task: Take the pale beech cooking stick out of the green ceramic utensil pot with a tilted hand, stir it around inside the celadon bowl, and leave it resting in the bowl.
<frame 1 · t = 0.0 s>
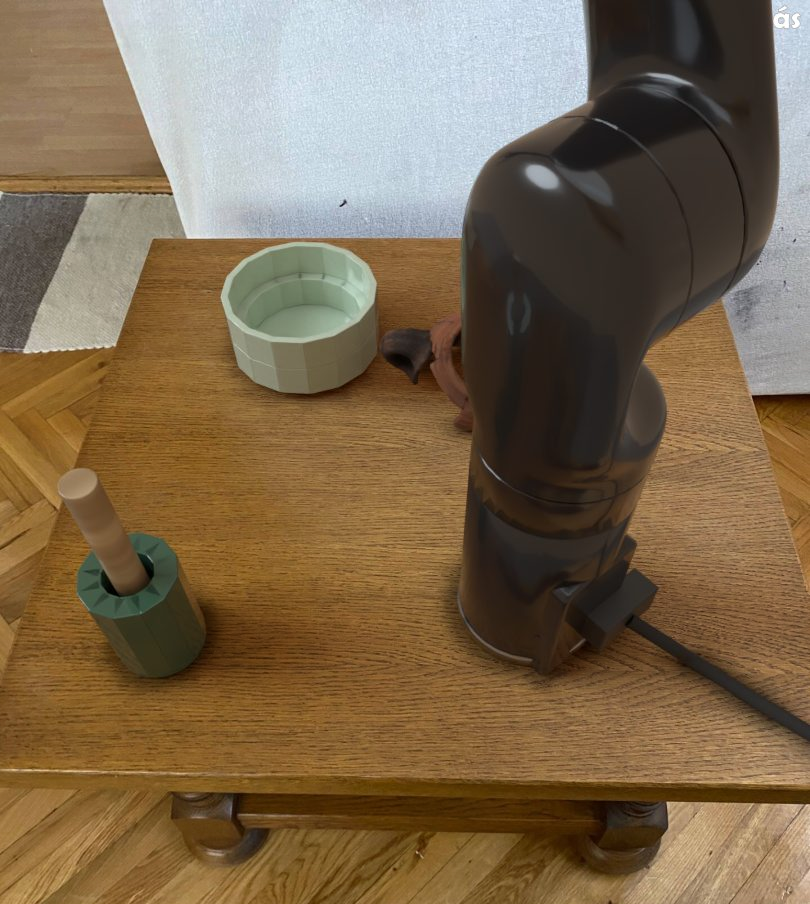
utensil pot: (162, 637, 54), on the table
cooking stick: (160, 634, 54), resting on utensil pot
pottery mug: (454, 391, 67), on the table
bowl: (307, 346, 70), on the table
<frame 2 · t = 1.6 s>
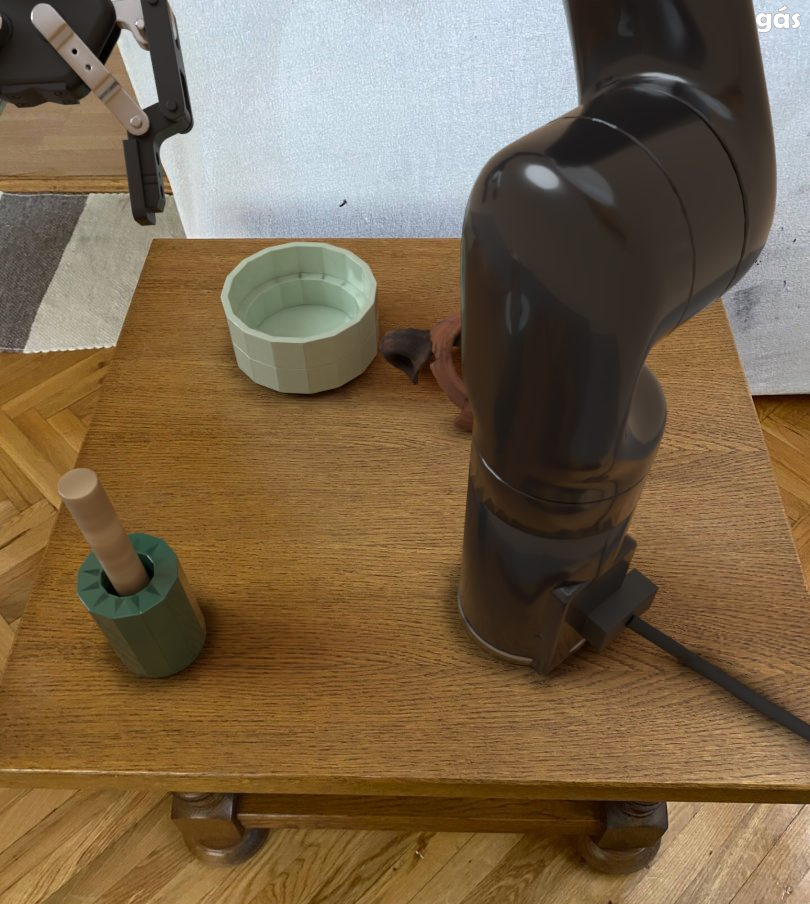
hand: (61, 228, 42), 23 cm above the table, tool tilted 45°, fingers open, 8 cm apart
nothing on the table moved.
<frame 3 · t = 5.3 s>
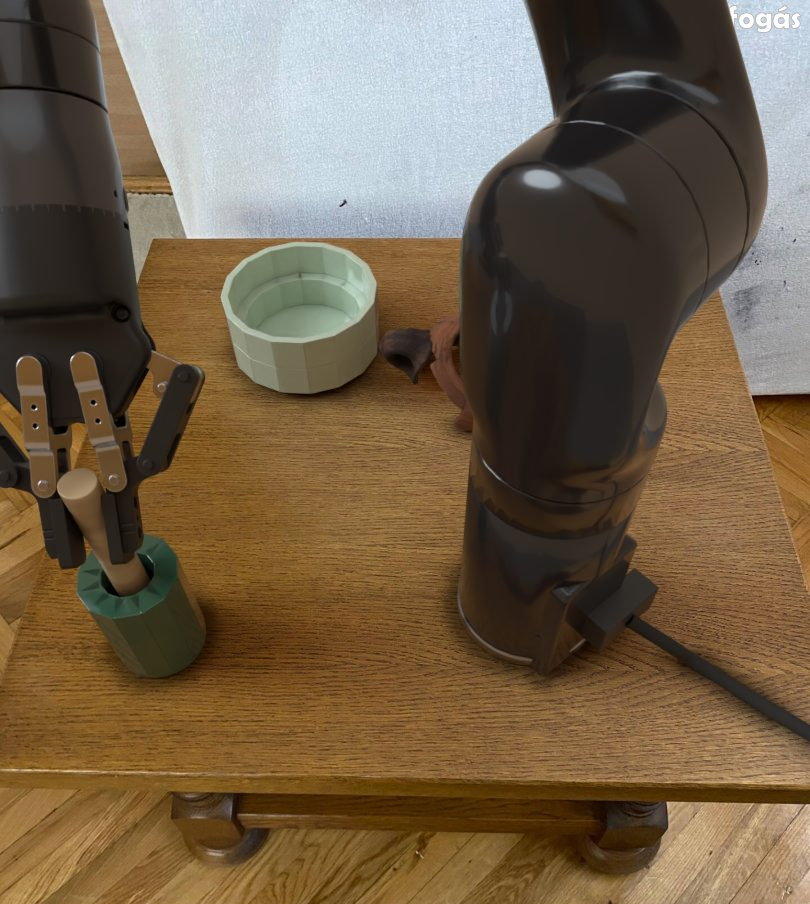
hand: (99, 562, 43), 12 cm above the table, tool tilted 45°, fingers closed on cooking stick, 2 cm apart
cooking stick: (160, 634, 54), point 1 cm above the table, touching gripper, utensil pot
everything else where it was.
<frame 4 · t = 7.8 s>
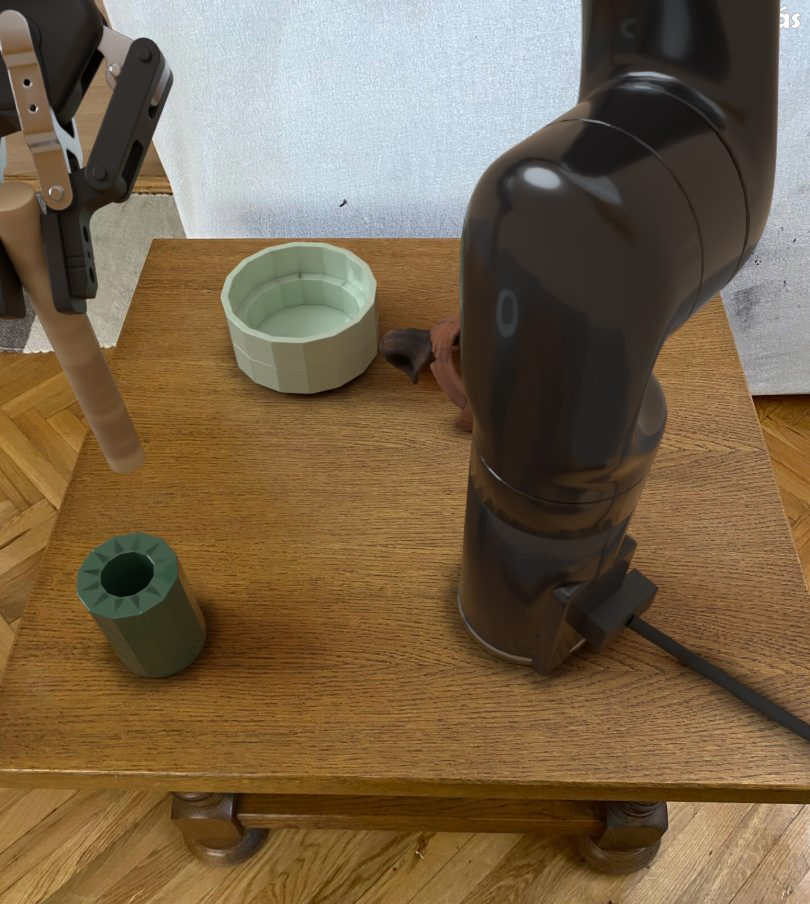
hand: (40, 313, 34), 26 cm above the table, tool tilted 45°, fingers closed on cooking stick
cooking stick: (127, 460, 45), point 14 cm above the table, touching gripper
everything else where it was.
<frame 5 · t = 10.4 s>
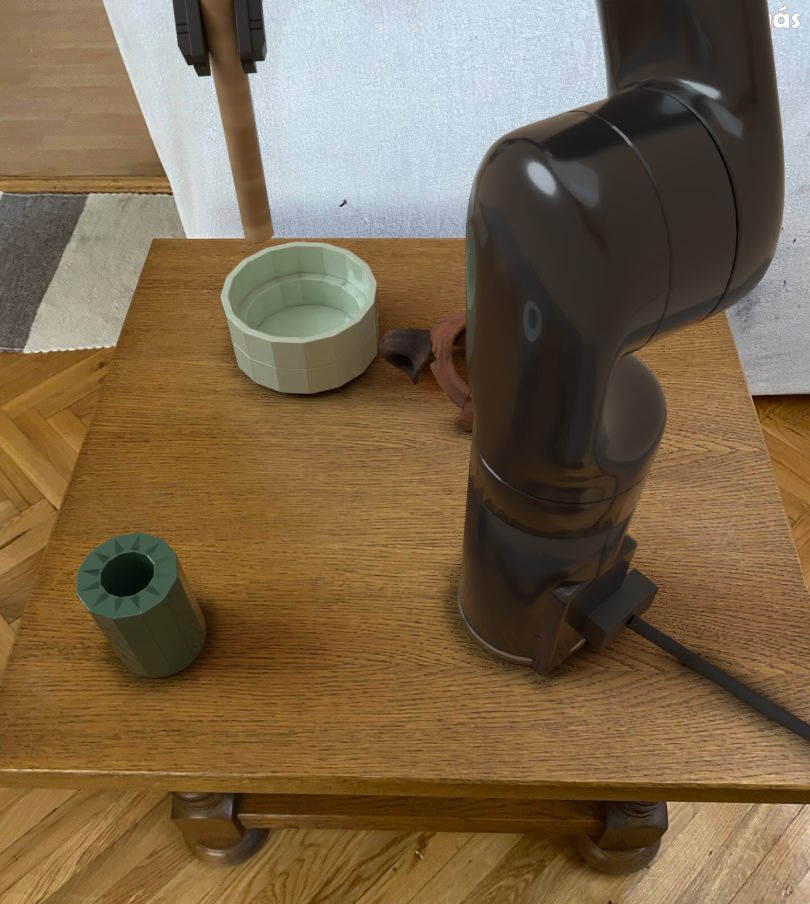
hand: (226, 68, 45), 26 cm above the table, tool tilted 45°, fingers closed on cooking stick
cooking stick: (259, 234, 56), point 14 cm above the table, touching gripper
everything else where it was.
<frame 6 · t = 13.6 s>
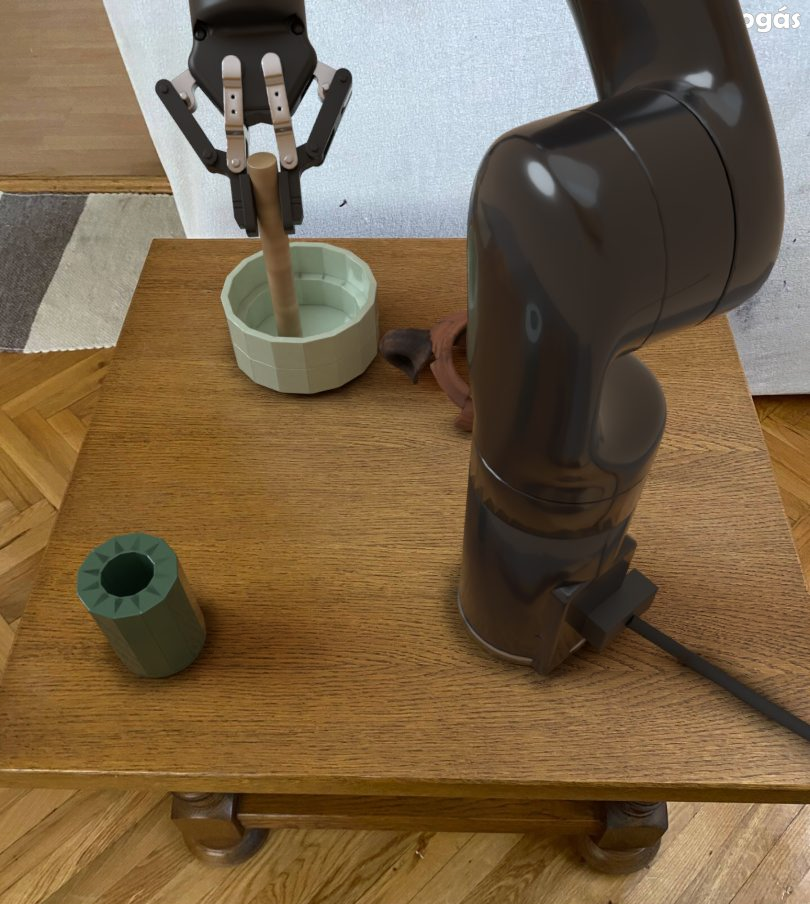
hand: (271, 232, 56), 14 cm above the table, tool tilted 45°, fingers closed on cooking stick, 2 cm apart
cooking stick: (292, 344, 67), point 2 cm above the table, touching gripper
everything else where it was.
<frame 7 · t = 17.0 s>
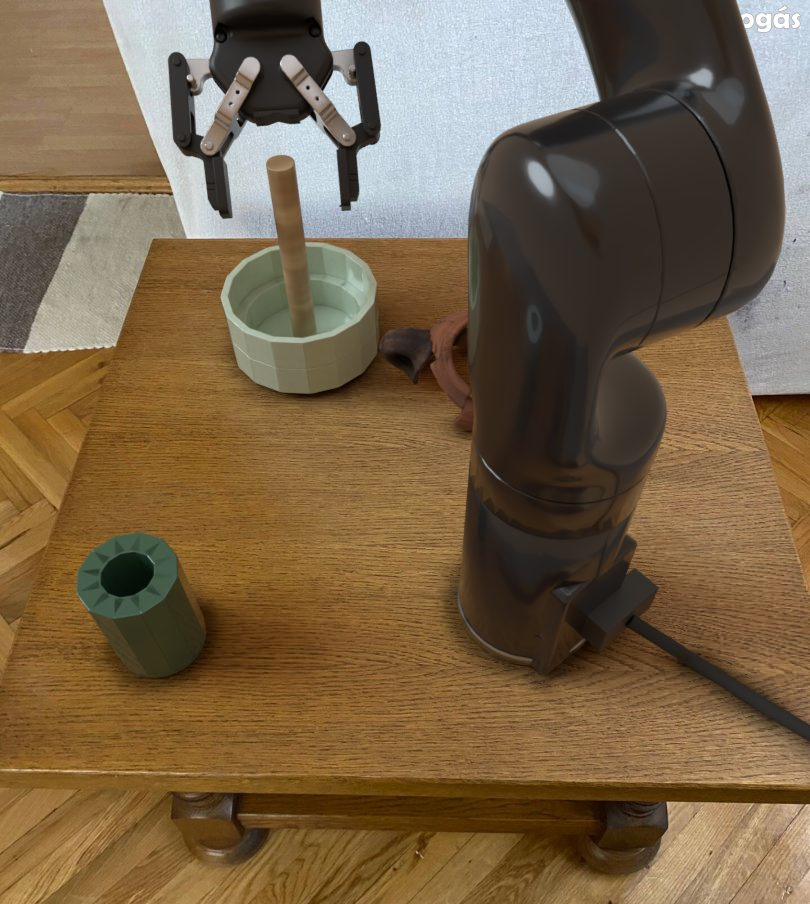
hand: (286, 212, 58), 13 cm above the table, tool tilted 45°, fingers open, 8 cm apart
cooking stick: (306, 340, 70), point 1 cm above the table, touching bowl
everything else where it was.
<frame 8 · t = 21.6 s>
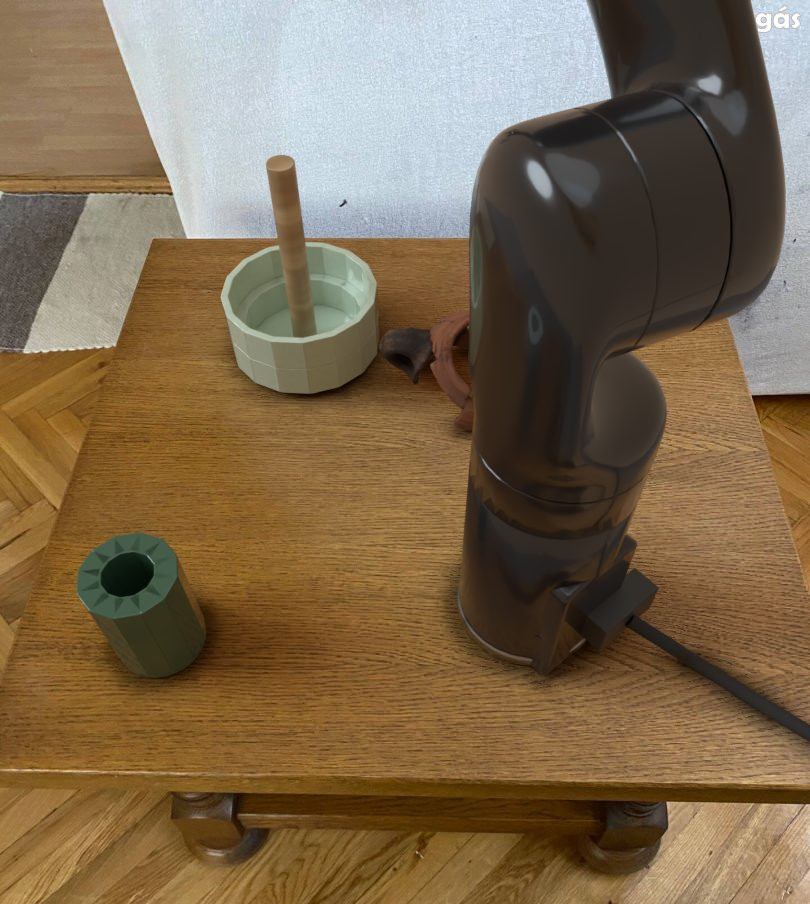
nothing on the table moved.
at the end: cooking stick inside the target area in the bowl (0.1 cm from its centre), point 0.6 cm above the bowl's base; the gripper is holding nothing; cooking stick moved 28.9 cm from its start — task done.
